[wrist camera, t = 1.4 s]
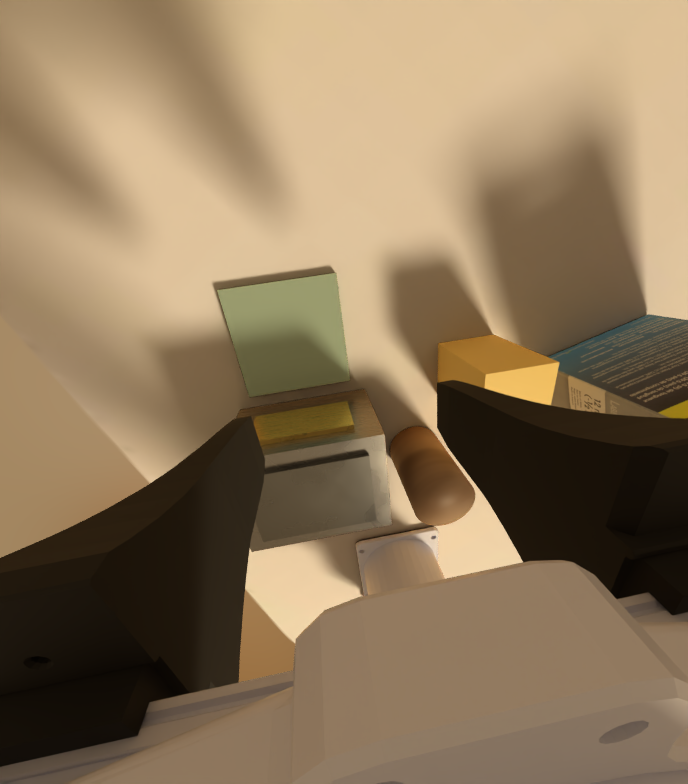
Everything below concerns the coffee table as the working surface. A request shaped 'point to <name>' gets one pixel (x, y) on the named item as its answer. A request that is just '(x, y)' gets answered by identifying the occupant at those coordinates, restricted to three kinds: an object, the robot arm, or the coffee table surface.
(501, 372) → the ochre block
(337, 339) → the pad
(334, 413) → the box
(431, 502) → the walnut cylinder
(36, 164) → the coffee table surface
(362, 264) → the coffee table surface
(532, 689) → the robot arm
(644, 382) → the label tape box
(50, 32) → the coffee table surface
